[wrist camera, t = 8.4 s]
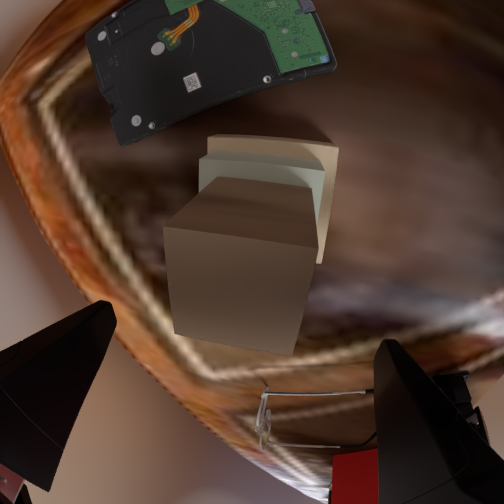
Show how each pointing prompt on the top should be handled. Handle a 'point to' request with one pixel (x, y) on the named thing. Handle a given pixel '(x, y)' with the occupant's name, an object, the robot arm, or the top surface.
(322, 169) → the tower top
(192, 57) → the disk drive
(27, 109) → the top surface
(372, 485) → the book
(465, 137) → the top surface
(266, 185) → the walnut block
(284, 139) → the tower base
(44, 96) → the top surface
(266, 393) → the eyeglasses
